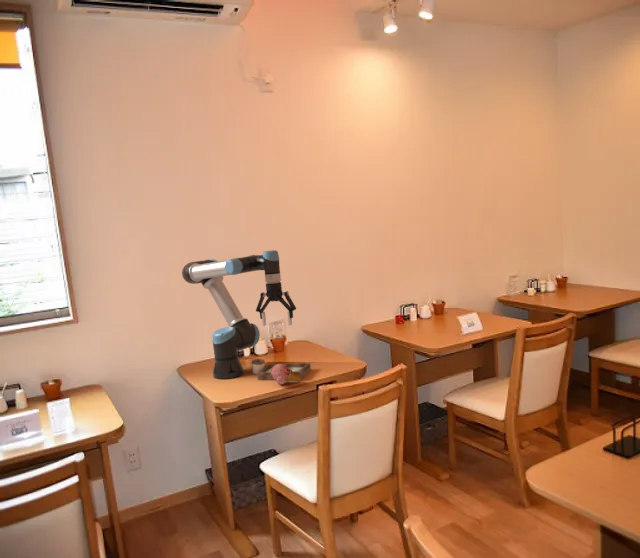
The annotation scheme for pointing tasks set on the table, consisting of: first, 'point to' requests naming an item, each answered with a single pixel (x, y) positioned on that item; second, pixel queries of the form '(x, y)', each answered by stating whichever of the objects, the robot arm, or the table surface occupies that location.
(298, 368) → the tray
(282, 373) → the ice cream
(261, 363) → the sugar pot
